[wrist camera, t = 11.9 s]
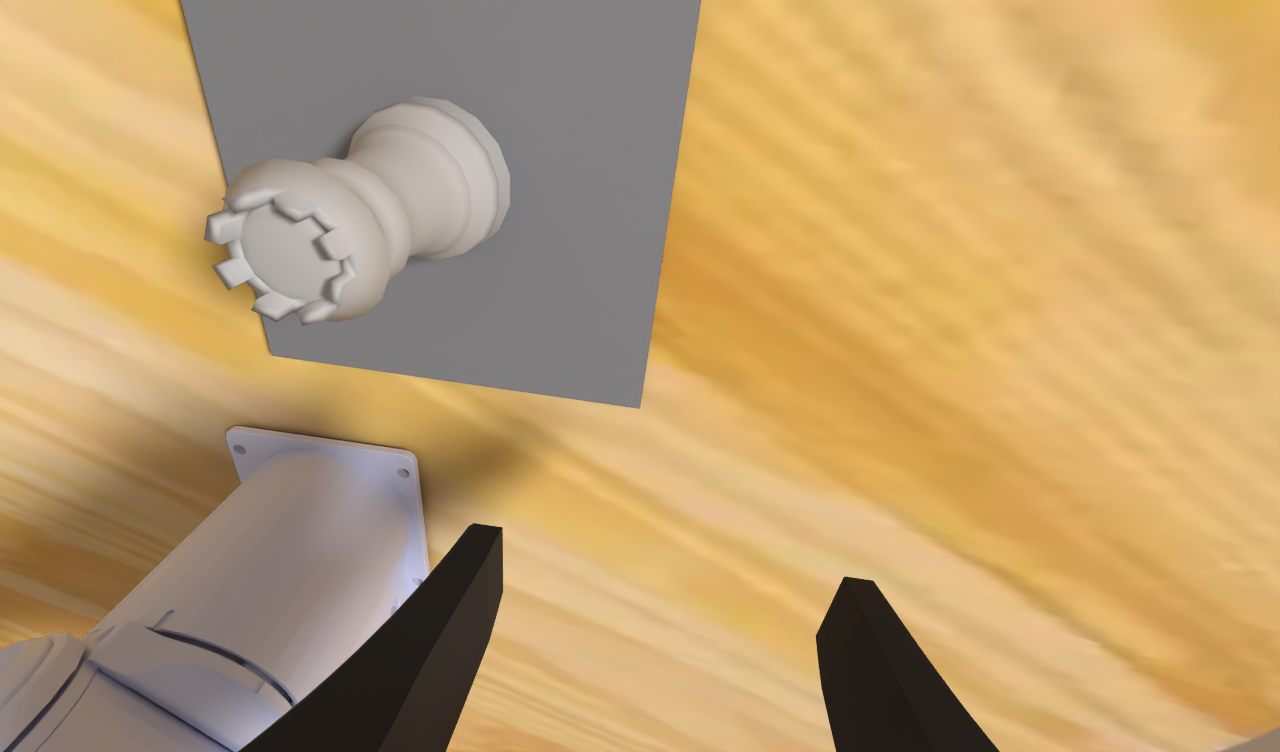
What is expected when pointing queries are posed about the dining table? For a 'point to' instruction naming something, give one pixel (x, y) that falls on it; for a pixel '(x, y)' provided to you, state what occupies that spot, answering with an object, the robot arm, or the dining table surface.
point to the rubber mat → (533, 152)
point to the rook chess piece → (361, 212)
